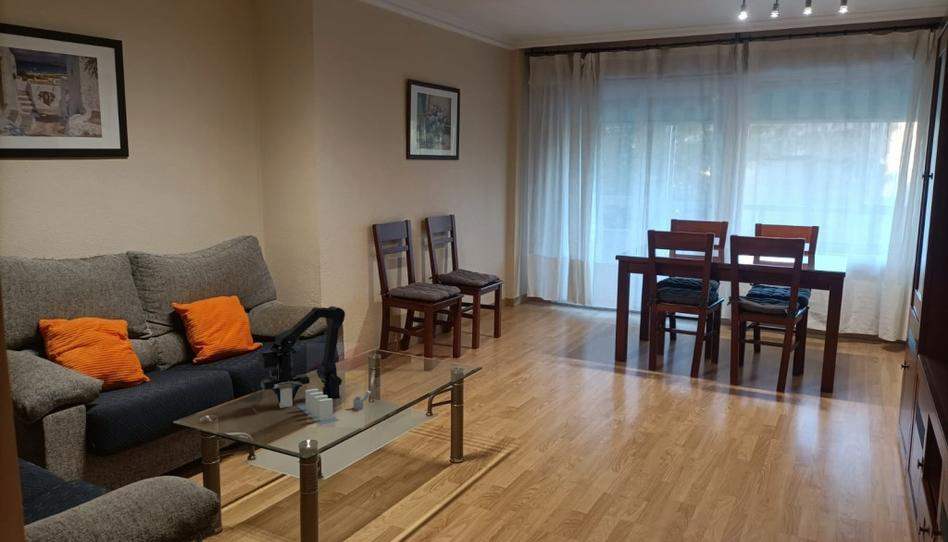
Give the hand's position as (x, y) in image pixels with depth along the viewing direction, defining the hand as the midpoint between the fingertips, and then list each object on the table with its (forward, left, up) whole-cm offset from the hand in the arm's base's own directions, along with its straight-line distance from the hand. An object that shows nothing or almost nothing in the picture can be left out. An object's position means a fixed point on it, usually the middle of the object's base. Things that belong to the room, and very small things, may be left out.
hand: (285, 402), depth 291 cm
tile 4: (-13, +22, -2) cm, 25 cm away
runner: (-11, +11, -2) cm, 16 cm away
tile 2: (-11, +12, -2) cm, 16 cm away
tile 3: (-12, +17, -2) cm, 21 cm away
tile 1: (-10, +7, -2) cm, 12 cm away
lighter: (-29, +13, -2) cm, 32 cm away
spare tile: (0, 0, -2) cm, 2 cm away
